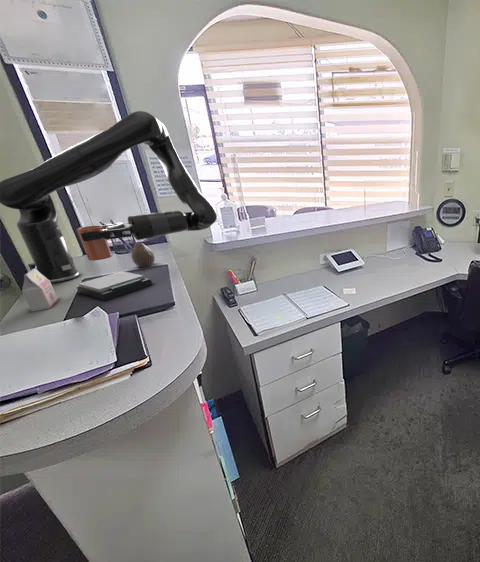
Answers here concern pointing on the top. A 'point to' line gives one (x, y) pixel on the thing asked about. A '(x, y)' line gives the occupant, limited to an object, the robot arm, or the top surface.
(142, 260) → the brown coconut
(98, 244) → the cup
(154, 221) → the robot arm
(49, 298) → the milk carton
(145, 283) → the scale
